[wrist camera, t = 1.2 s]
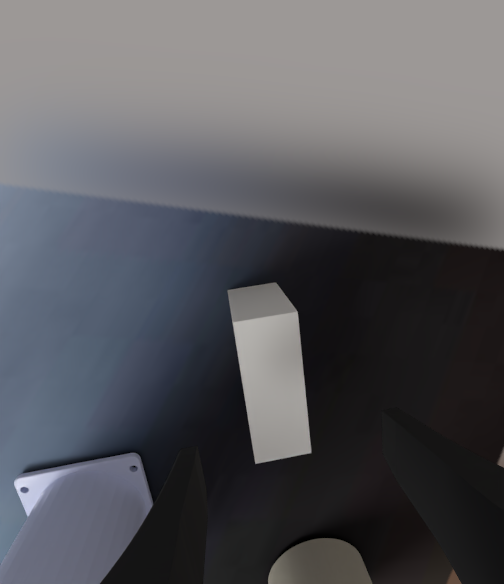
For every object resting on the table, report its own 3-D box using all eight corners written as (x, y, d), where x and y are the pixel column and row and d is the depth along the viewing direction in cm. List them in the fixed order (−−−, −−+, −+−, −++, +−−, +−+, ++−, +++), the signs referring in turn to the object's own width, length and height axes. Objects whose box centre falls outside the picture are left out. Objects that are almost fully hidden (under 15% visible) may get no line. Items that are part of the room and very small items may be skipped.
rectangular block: (288, 393, 23) (311, 452, 18) (245, 401, 23) (255, 463, 18) (275, 281, 21) (297, 311, 15) (227, 289, 20) (232, 322, 15)
